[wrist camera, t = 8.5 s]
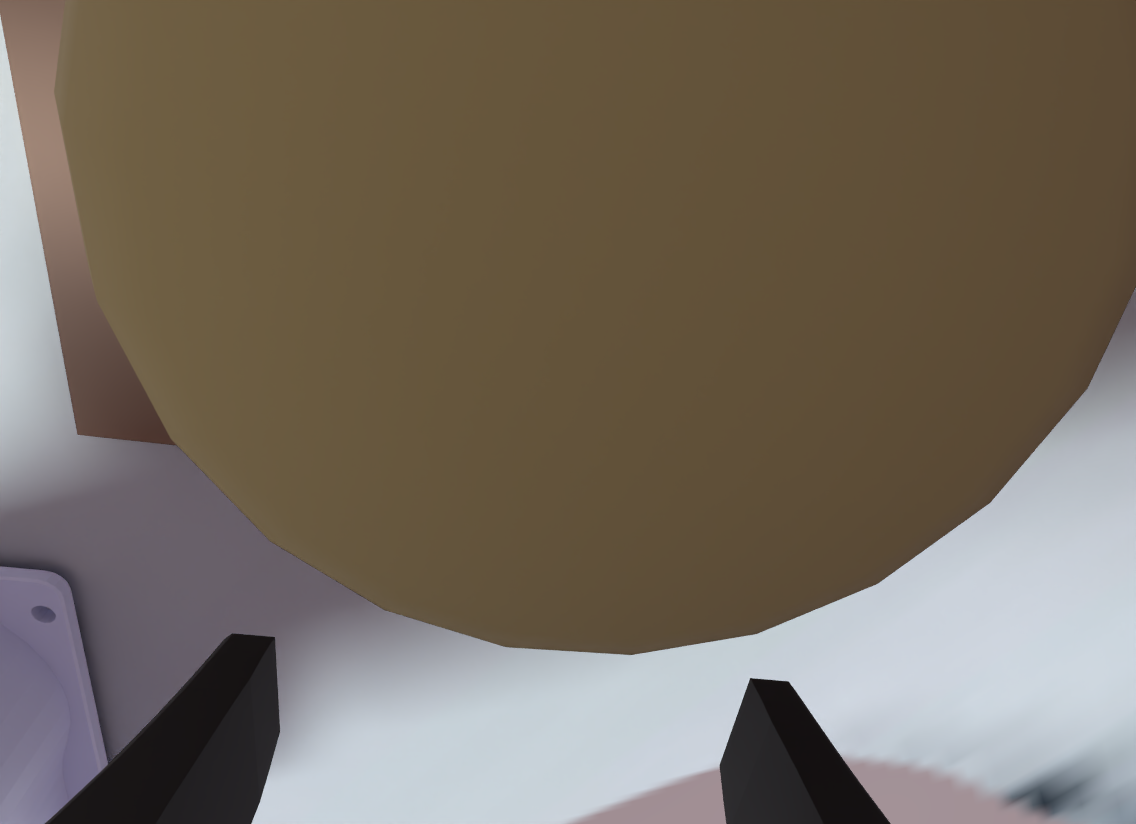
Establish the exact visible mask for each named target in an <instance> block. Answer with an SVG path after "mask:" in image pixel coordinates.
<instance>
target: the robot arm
mask: <svg viewBox="0 0 1136 824" xmlns="http://www.w3.org/2000/svg"><path fill="white" fill-rule="evenodd" d="M46 607H48V608H50V609H51V610H50V609H48V608H46ZM279 733H280V724H279V705H278V687H277V669H276V650H275V637H267V636H255V635H244V634H231V635H230V636H228V637H227V638H225V639H224V640H223V642H222V643H221V644H220V645H219V646H218V647H217V649H216V650H215V651H214V652H213V653H212V654H211V656H210V657H209V658H208V659H207V660H206V661H205V662H204V664H203V665H202V666H201V667H200V668H199V669H198V670H197V672H196V673H195V674H194V675H193V676H192V677H191V678H190V679H189V681H188V682H187V683H186V684H185V685H184V686H183V687H182V688H181V689H180V690H179V691H178V693H177V694H176V695H175V696H174V697H173V698H172V699H171V700H170V701H169V702H168V703H167V704H166V706H165V707H164V708H163V709H162V710H161V711H160V712H159V713H158V714H157V715H156V716H155V717H154V718H153V719H152V720H151V721H150V722H149V723H148V724H147V725H146V726H145V727H144V728H143V729H142V731H141V732H140V733H139V734H138V735H137V736H136V737H135V738H134V739H133V740H132V741H131V742H130V743H129V744H128V745H127V746H126V747H125V748H124V749H123V750H122V751H121V752H120V753H119V754H118V755H117V756H116V757H115V758H114V759H113V760H112V761H111V762H110V763H109V764H108V762H107V757H106V752H105V747H104V743H103V738H102V733H101V729H100V724H99V719H98V714H97V710H96V705H95V700H94V696H93V691H92V686H91V681H90V677H89V672H88V667H87V663H86V658H85V653H84V648H83V644H82V639H81V634H80V629H79V625H78V620H77V615H76V611H75V606H74V601H73V596H72V592H71V588H70V586H69V584H68V582H67V581H66V580H65V579H64V578H63V577H62V576H60V575H58V574H56V573H54V572H49V571H44V570H34V569H23V568H12V567H2V566H0V824H251V823H252V820H253V818H254V815H255V813H256V810H257V808H258V805H259V803H260V799H261V796H262V793H263V789H264V786H265V783H266V779H267V776H268V772H269V769H270V765H271V762H272V758H273V755H274V751H275V747H276V744H277V740H278V737H279ZM720 773H721V782H722V790H723V801H724V808H725V816H726V823H727V824H890V822H889V821H888V820H887V818H886V817H885V816H884V814H883V813H882V812H881V810H880V809H879V808H878V806H877V805H876V804H875V802H874V801H873V800H872V798H871V797H870V796H869V794H868V793H867V792H866V790H865V789H864V788H863V786H862V785H861V784H860V782H859V781H858V779H857V778H856V777H855V775H854V774H853V773H852V771H851V770H850V768H849V767H848V766H847V764H846V763H845V761H844V760H843V759H842V757H841V756H840V754H839V753H838V751H837V750H836V749H835V747H834V746H833V744H832V743H831V742H830V740H829V739H828V737H827V736H826V734H825V733H824V731H823V730H822V729H821V727H820V726H819V724H818V723H817V721H816V720H815V718H814V717H813V716H812V714H811V713H810V711H809V710H808V708H807V707H806V705H805V704H804V703H803V701H802V700H801V698H800V697H799V695H798V694H797V692H796V691H795V690H794V688H793V687H792V686H791V684H790V683H789V682H787V681H776V680H764V679H753V678H750V681H749V683H748V686H747V689H746V692H745V695H744V698H743V700H742V703H741V706H740V709H739V712H738V715H737V717H736V720H735V723H734V726H733V729H732V732H731V734H730V737H729V740H728V743H727V746H726V749H725V752H724V754H723V757H722V760H721V763H720Z"/></svg>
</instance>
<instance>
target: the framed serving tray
mask: <svg viewBox="0 0 1136 824" xmlns="http://www.w3.org/2000/svg"><path fill="white" fill-rule="evenodd" d="M64 6H65V0H0V15H1V21H2V26H3V32H4V37H5V43H6V48H7V53H8V59H9V64H10V70H11V75H12V81H13V86H14V92H15V97H16V102H17V108H18V113H19V119H20V124H21V130H22V135H23V140H24V146H25V151H26V157H27V162H28V168H29V173H30V179H31V184H32V189H33V195H34V200H35V206H36V211H37V217H38V222H39V228H40V233H41V238H42V244H43V249H44V255H45V260H46V266H47V271H48V276H49V282H50V287H51V293H52V298H53V304H54V309H55V315H56V320H57V325H58V331H59V336H60V342H61V347H62V353H63V358H64V364H65V369H66V374H67V380H68V385H69V391H70V396H71V402H72V407H73V412H74V418H75V423H76V429H77V434H78V435H85V436H95V437H104V438H113V439H122V440H132V441H141V442H150V443H159V444H169V445H176V444H175V443H174V442H173V441H172V439H171V438H170V436H169V434H168V432H167V431H166V429H165V427H164V425H163V423H162V421H161V419H160V418H159V416H158V414H157V412H156V410H155V408H154V406H153V404H152V403H151V401H150V399H149V397H148V395H147V393H146V391H145V390H144V388H143V386H142V384H141V382H140V380H139V378H138V377H137V375H136V373H135V371H134V369H133V367H132V365H131V364H130V362H129V360H128V358H127V356H126V354H125V352H124V350H123V349H122V347H121V345H120V343H119V341H118V339H117V337H116V336H115V334H114V332H113V330H112V328H111V326H110V324H109V323H108V321H107V319H106V317H105V315H104V313H103V311H102V310H101V308H100V306H99V304H98V302H97V300H96V295H95V291H94V287H93V283H92V279H91V275H90V271H89V267H88V262H87V257H86V252H85V247H84V242H83V237H82V232H81V226H80V221H79V216H78V211H77V206H76V201H75V196H74V191H73V186H72V181H71V176H70V171H69V166H68V161H67V156H66V150H65V145H64V140H63V135H62V130H61V125H60V120H59V115H58V110H57V105H56V100H55V95H54V87H55V79H56V71H57V63H58V55H59V47H60V39H61V30H62V22H63V14H64Z"/></svg>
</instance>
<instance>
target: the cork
mask: <svg viewBox="0 0 1136 824" xmlns="http://www.w3.org/2000/svg"><path fill="white" fill-rule="evenodd" d="M54 95H55V100H56V105H57V110H58V115H59V120H60V125H61V130H62V135H63V140H64V145H65V150H66V156H67V161H68V166H69V171H70V176H71V181H72V186H73V191H74V196H75V201H76V206H77V211H78V216H79V221H80V226H81V232H82V237H83V242H84V247H85V252H86V257H87V262H88V267H89V271H90V275H91V279H92V283H93V287H94V291H95V295H96V300H97V302H98V304H99V306H100V308H101V310H102V311H103V313H104V315H105V317H106V319H107V321H108V323H109V324H110V326H111V328H112V330H113V332H114V334H115V336H116V337H117V339H118V341H119V343H120V345H121V347H122V349H123V350H124V352H125V354H126V356H127V358H128V360H129V362H130V364H131V365H132V367H133V369H134V371H135V373H136V375H137V377H138V378H139V380H140V382H141V384H142V386H143V388H144V390H145V391H146V393H147V395H148V397H149V399H150V401H151V403H152V404H153V406H154V408H155V410H156V412H157V414H158V416H159V418H160V419H161V421H162V423H163V425H164V427H165V429H166V431H167V432H168V434H169V436H170V438H171V439H172V441H173V442H174V443H175V444H176V445H177V446H178V447H179V448H180V449H181V450H182V451H183V452H184V453H185V454H186V455H187V456H188V457H189V458H190V459H191V460H192V461H193V462H194V463H195V464H196V465H197V466H198V467H199V468H200V469H201V470H202V471H203V472H204V473H205V475H206V476H207V477H208V478H209V479H210V480H211V481H212V482H213V483H214V484H215V485H216V486H217V487H218V488H219V489H220V490H221V491H222V492H223V493H224V494H225V495H226V496H227V497H228V498H229V499H230V500H231V501H232V502H233V503H234V504H235V505H236V506H237V508H238V509H239V510H240V511H241V512H242V513H243V514H244V515H245V516H246V517H247V518H248V519H249V520H250V521H251V522H252V523H253V524H254V525H255V526H256V527H257V528H258V529H259V530H260V531H261V532H262V533H263V534H264V535H265V536H266V537H267V538H268V539H269V540H270V541H271V542H272V543H274V544H276V545H277V546H279V547H281V548H282V549H284V550H286V551H287V552H289V553H291V554H292V555H294V556H296V557H297V558H299V559H301V560H302V561H304V562H305V563H307V564H309V565H310V566H312V567H314V568H315V569H317V570H319V571H320V572H322V573H324V574H325V575H327V576H329V577H330V578H332V579H334V580H335V581H337V582H339V583H340V584H342V585H344V586H345V587H347V588H349V589H350V590H352V591H354V592H355V593H357V594H359V595H360V596H362V597H364V598H365V599H367V600H369V601H370V602H372V603H374V604H375V605H377V606H379V607H380V608H382V609H384V610H386V611H390V612H393V613H396V614H399V615H403V616H406V617H409V618H413V619H416V620H419V621H422V622H426V623H429V624H432V625H435V626H439V627H442V628H445V629H449V630H452V631H455V632H458V633H462V634H465V635H468V636H471V637H475V638H478V639H481V640H485V641H488V642H491V643H494V644H498V645H501V646H504V647H513V648H529V649H545V650H561V651H577V652H593V653H609V654H625V655H634V654H640V653H646V652H652V651H658V650H664V649H670V648H676V647H681V646H687V645H693V644H699V643H705V642H711V641H717V640H723V639H729V638H735V637H741V636H747V635H753V634H757V633H760V632H762V631H765V630H767V629H769V628H772V627H774V626H777V625H779V624H782V623H784V622H786V621H789V620H791V619H794V618H796V617H798V616H801V615H803V614H806V613H808V612H811V611H813V610H815V609H818V608H820V607H823V606H825V605H827V604H830V603H832V602H835V601H837V600H839V599H842V598H844V597H847V596H849V595H852V594H854V593H856V592H859V591H861V590H864V589H866V588H868V587H871V586H873V585H876V584H878V583H879V582H881V581H882V580H883V579H885V578H886V577H888V576H889V575H890V574H892V573H893V572H895V571H896V570H897V569H899V568H900V567H901V566H903V565H904V564H906V563H907V562H908V561H910V560H911V559H913V558H914V557H915V556H917V555H918V554H920V553H921V552H922V551H924V550H925V549H926V548H928V547H929V546H931V545H932V544H933V543H935V542H936V541H938V540H939V539H940V538H942V537H943V536H945V535H946V534H947V533H949V532H950V531H951V530H953V529H954V528H956V527H957V526H958V525H960V524H961V523H963V522H964V521H965V520H967V519H968V518H970V517H971V516H972V515H974V514H975V513H976V512H978V511H979V510H981V509H982V508H983V507H985V506H986V505H988V504H989V503H990V502H991V501H992V500H993V499H994V498H995V496H996V495H997V494H998V493H999V492H1000V491H1001V489H1002V488H1003V487H1004V486H1005V485H1006V483H1007V482H1008V481H1009V480H1010V479H1011V478H1012V476H1013V475H1014V474H1015V473H1016V472H1017V471H1018V469H1019V468H1020V467H1021V466H1022V465H1023V463H1024V462H1025V461H1026V460H1027V459H1028V458H1029V456H1030V455H1031V454H1032V453H1033V452H1034V451H1035V449H1036V448H1037V447H1038V446H1039V445H1040V443H1041V442H1042V441H1043V440H1044V439H1045V438H1046V436H1047V435H1048V434H1049V433H1050V432H1051V431H1052V429H1053V428H1054V427H1055V426H1056V425H1057V423H1058V422H1059V421H1060V420H1061V419H1062V418H1063V416H1064V415H1065V414H1066V413H1067V412H1068V411H1069V409H1070V408H1071V407H1072V406H1073V405H1074V403H1075V402H1076V401H1077V400H1078V399H1079V398H1080V396H1081V395H1082V394H1083V393H1084V392H1085V391H1086V389H1087V388H1088V386H1089V384H1090V382H1091V380H1092V378H1093V375H1094V373H1095V371H1096V369H1097V367H1098V365H1099V363H1100V361H1101V359H1102V357H1103V354H1104V352H1105V350H1106V348H1107V346H1108V344H1109V342H1110V340H1111V338H1112V335H1113V333H1114V331H1115V329H1116V327H1117V325H1118V323H1119V321H1120V319H1121V317H1122V314H1123V312H1124V310H1125V308H1126V306H1127V304H1128V302H1129V300H1130V298H1131V295H1132V293H1133V291H1134V289H1135V287H1136V0H65V6H64V14H63V22H62V30H61V39H60V47H59V55H58V63H57V71H56V79H55V87H54Z"/></svg>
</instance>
